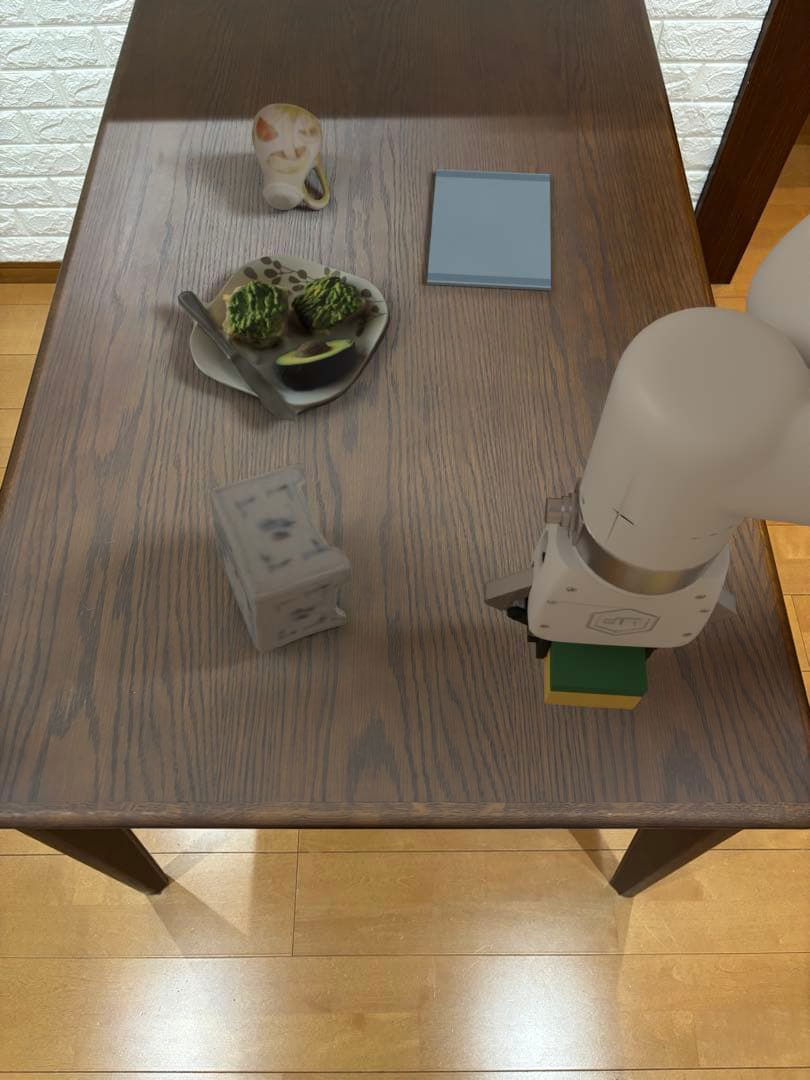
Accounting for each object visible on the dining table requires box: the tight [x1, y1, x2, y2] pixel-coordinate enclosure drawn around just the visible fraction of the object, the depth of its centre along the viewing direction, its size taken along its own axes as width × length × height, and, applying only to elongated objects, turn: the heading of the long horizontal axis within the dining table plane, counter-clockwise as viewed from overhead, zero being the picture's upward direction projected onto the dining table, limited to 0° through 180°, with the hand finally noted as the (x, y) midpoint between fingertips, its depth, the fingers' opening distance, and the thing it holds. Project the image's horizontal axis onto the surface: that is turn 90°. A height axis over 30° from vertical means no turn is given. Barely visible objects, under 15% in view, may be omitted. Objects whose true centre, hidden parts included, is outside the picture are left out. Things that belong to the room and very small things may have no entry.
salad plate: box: [177, 253, 391, 422], centre depth 75 cm, size 19×18×5 cm
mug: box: [251, 103, 331, 211], centre depth 84 cm, size 8×10×10 cm
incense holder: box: [208, 462, 352, 654], centre depth 61 cm, size 10×8×10 cm
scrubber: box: [543, 641, 649, 710], centre depth 56 cm, size 9×6×4 cm, turn 176°
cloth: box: [426, 168, 552, 292], centre depth 84 cm, size 12×16×1 cm
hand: (588, 640), depth 58 cm, fingers closed on scrubber, 6 cm apart
